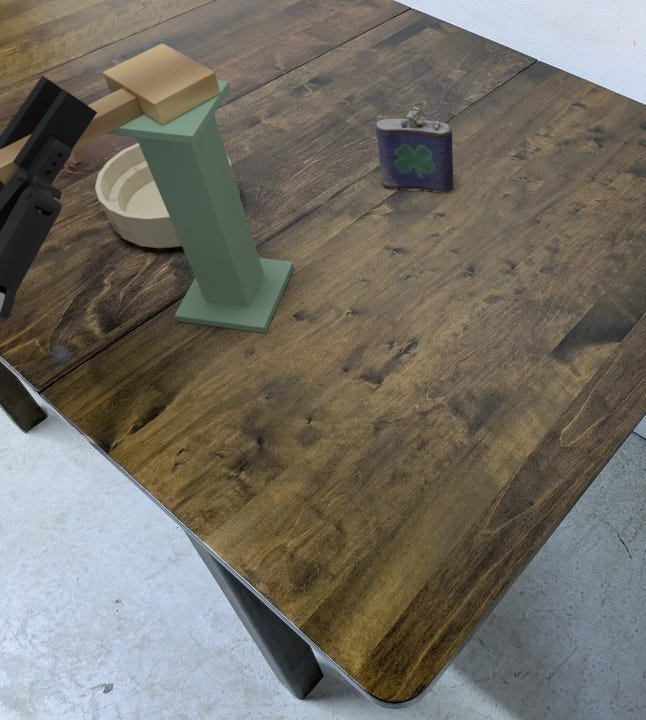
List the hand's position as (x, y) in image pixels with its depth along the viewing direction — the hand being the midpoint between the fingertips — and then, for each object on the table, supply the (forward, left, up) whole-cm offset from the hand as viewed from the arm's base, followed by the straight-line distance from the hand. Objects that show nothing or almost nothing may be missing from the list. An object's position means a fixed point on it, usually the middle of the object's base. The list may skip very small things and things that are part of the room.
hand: (69, 94), depth 55 cm
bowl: (-8, +18, -28) cm, 35 cm away
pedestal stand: (+4, +6, -28) cm, 29 cm away
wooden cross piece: (+1, +1, -4) cm, 4 cm away
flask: (+20, +28, -29) cm, 45 cm away
